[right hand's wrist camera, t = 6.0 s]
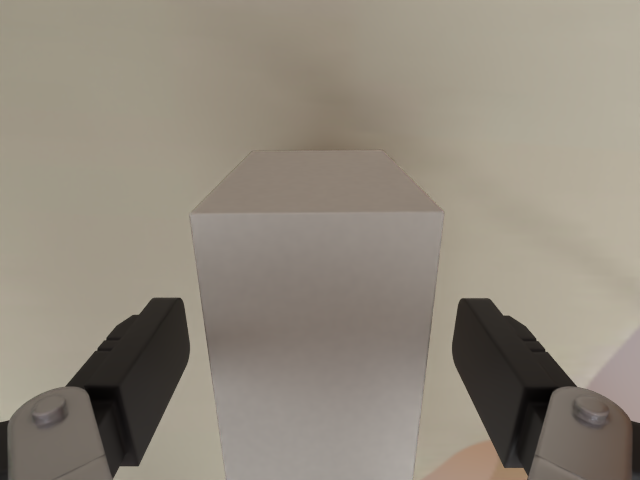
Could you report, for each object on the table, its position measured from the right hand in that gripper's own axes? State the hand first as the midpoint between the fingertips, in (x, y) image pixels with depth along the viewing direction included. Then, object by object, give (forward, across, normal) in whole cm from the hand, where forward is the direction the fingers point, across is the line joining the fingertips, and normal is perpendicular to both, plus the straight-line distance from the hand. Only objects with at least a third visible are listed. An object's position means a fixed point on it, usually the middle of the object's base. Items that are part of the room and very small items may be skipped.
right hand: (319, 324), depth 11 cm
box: (+8, 0, +9) cm, 12 cm away
